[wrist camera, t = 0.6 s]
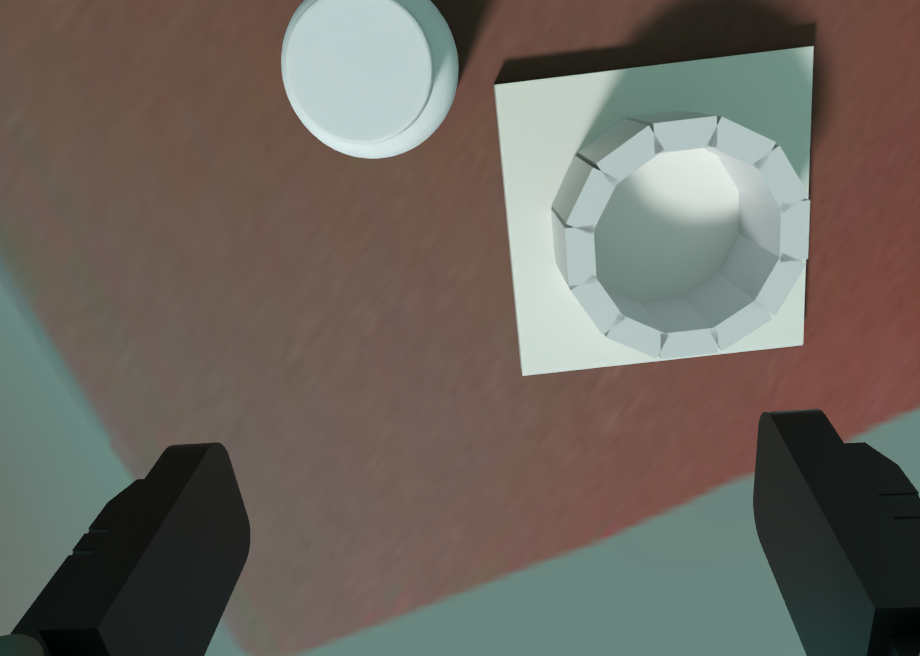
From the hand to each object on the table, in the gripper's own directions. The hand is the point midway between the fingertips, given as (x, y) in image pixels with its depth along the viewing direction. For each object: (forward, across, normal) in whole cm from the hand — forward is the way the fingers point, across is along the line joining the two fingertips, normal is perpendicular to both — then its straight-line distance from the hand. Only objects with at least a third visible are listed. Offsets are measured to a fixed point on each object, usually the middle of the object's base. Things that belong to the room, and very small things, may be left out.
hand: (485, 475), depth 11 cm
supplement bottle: (+21, +4, -3) cm, 22 cm away
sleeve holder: (+21, -6, +4) cm, 22 cm away
